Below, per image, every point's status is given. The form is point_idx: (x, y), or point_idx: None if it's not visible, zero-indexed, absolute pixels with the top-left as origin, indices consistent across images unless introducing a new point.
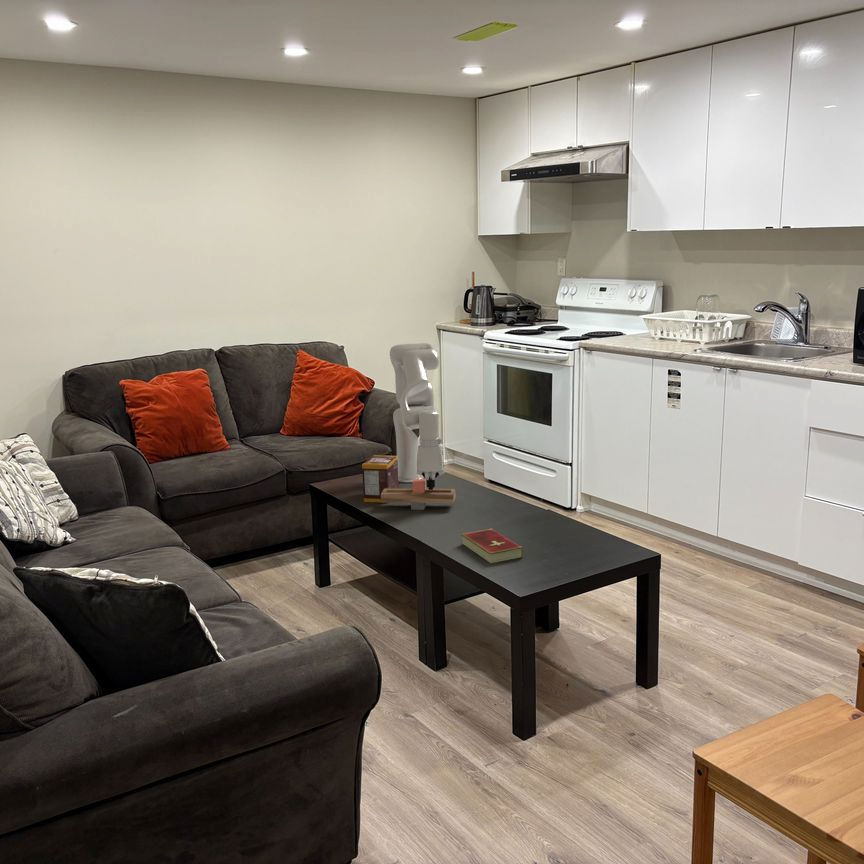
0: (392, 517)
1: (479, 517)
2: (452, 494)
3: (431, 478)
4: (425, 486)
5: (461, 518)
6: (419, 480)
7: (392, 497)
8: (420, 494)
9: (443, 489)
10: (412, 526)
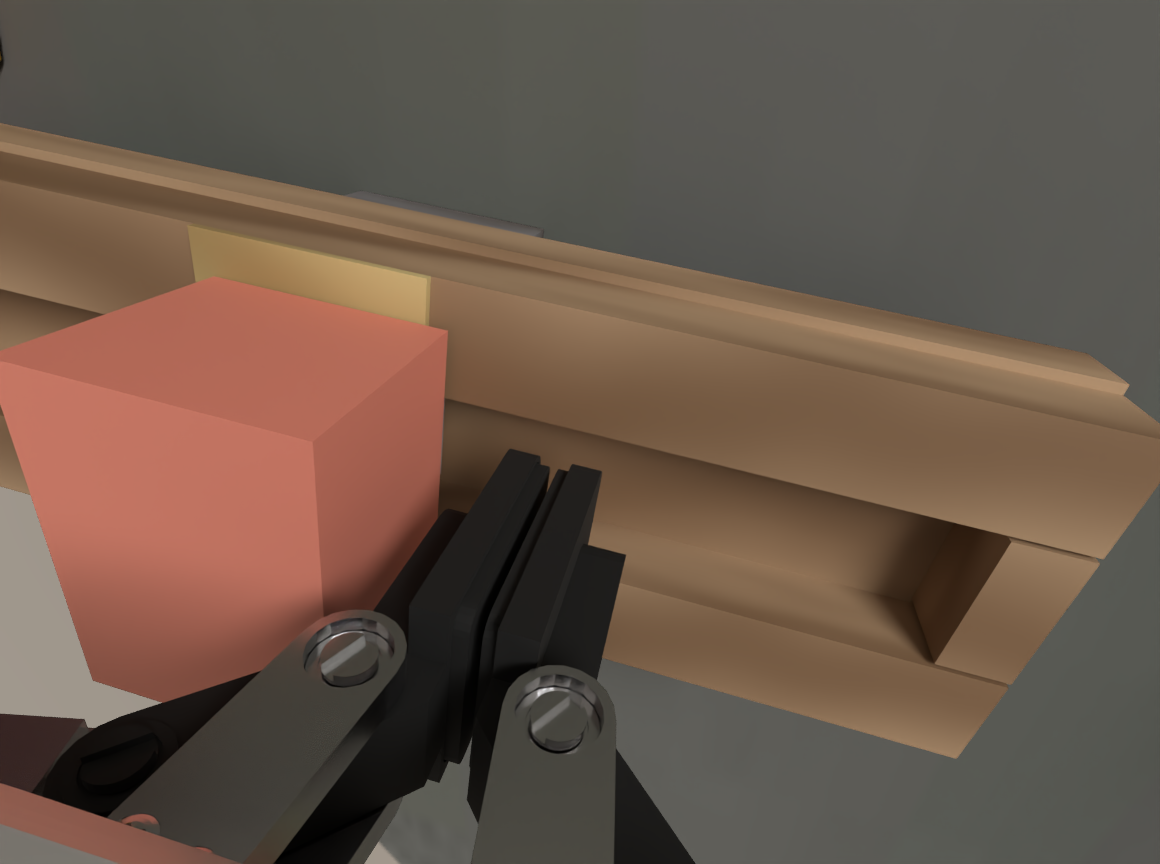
0: None
1: (1105, 828)
2: (936, 751)
3: (479, 793)
4: (412, 437)
5: (891, 794)
6: (183, 561)
7: None
8: None
9: (846, 437)
10: (438, 805)
